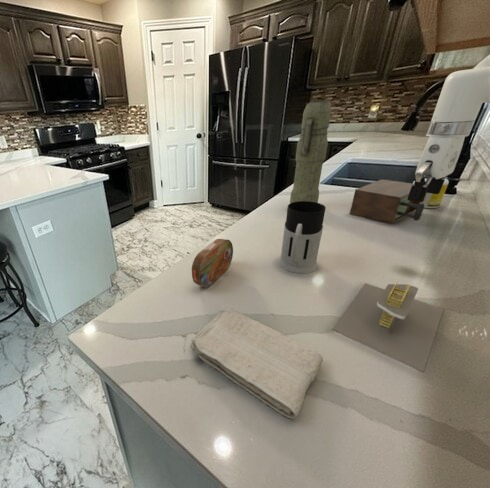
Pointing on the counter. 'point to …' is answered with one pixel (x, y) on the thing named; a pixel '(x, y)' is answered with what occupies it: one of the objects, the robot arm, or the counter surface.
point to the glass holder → (302, 236)
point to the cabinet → (381, 201)
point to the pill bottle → (435, 197)
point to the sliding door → (405, 203)
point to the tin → (212, 262)
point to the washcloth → (259, 360)
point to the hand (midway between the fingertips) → (423, 196)
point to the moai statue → (311, 151)
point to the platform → (392, 322)
